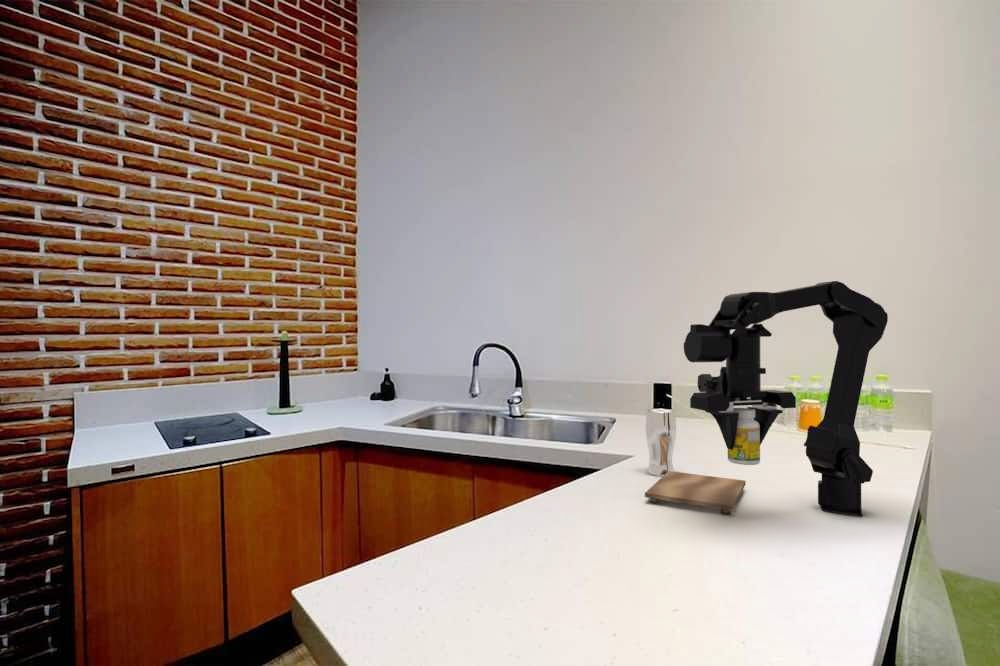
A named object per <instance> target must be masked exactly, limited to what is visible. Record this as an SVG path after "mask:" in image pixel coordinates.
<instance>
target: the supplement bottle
mask: <svg viewBox="0 0 1000 666" xmlns="http://www.w3.org/2000/svg"><path fill="white" fill-rule="evenodd" d="M733 412H738V413H739V417H738V424H737V431H736V438H735V443H734V447H733V449H728V448H727V460H728V461H729V462H730V463H732V464H736V465H743V466H756V465H759V464H760V462H761V445H760V425H759V423H758V422H757V421H755V420H754V418H755V410H754V409H749V408H747V407H733Z"/></svg>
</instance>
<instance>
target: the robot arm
mask: <svg viewBox="0 0 1000 666" xmlns="http://www.w3.org/2000/svg"><path fill="white" fill-rule="evenodd" d="M814 306H820V308H821V311H822V312H823V315H824V316H825V317H826V318H827V319H828V320H830V321H831V322H832V323H833V324H832V325H833V326H832V335H833V336H834V339H835V342H836V344H837V347H838V348H837V351H836V352H837V353H836V357H835V361H834V366H833V372H832V376H831V380H830V386H829V390H828V396H827V401H826V404H825V411H824V414H823V419H822V420H821V421H820V422H819V424H818V425H816V426H814V425H809V426H808V427H807V435H806V440H805V441H804V444H803V446H804V447H805V455H806V457H807V458H808V460H809V461H810V465H811V468H812V471H813V472H814V473H818V474H821V480H820V479H819V480H817V504H818V505H819V506H820V511H824V512H829V513H836V514H844V515H852V516H857V517H862V516H863V517H864V514H863V510H862V484H865V483H870V482H871V481H872V476H873V473H874V471H873V469H872V468H871V467H870V465H869V464H867V462H866V461H865V460H864V459H863V458H862V457H861V456H860V452H861V451H860V450H861V441H860V439H859V437H858V434H857V431H856V429H855V421H856V417H857V412H858V406H859V403H860V398H861V397H860V396H861V393H862V387H863V383H864V378H865V373H866V367H867V363H868V358H869V354H870V352H871V350H872V349H873V348H874V347H875V346H876V344H878V343H879V341H880V340H881V339H882V338H883V335H884V332H885V330H886V326H887V325H888V318H889V315H888V312H886V311H885V309H884V307H883V306H882V305H881V304H880V303H877V302H875V301H874V300H873V299H872V298H870V297H868V296H866V295H864V294H861V292H858V291H856V290H853V289H851V288H850V287H848V285H846V284H845V283H844V282H842V281H838V280H833V281H824V282H819V283H815V284H813V285H808V286H804V287H798V288H793V289H787V290H781V291H776V292H772V291H771V292H769V291H749V292H747V291H746V292H741V293H731V294H728V295H726V296H724V297H723V299H722V301H721V303H720V308H719V310H718V311H717V313H716V314H715V315H714V317H713V319H712V320H711V322H710V323H709V325H708V324H707V325H706V324H703V323H702V324H701V323H699V324H698V323H697V324H690V326H689V327H690V329H689V330H690V331H688V332H687V334H686V336H685V340H684V342H683V353H684V355H685V358H686V359H687V361H688V362H690V363H722V362H725V366H721V368H720V370H719V375H718V376H712V375H711V374H710V373H701V374H699V375H697V388H698V391H699V392H693V394H692V395H691V397H690V400H689V401H690V402H689V405H690V407H689V408H690V409H695V410H700V411H703V412H704V411H705V413H709V414H710V415H711V416H712V417H713V418H714V419H715V421H716V423H717V425H718V427H719V430H720V432H721V434H722V438H723V440H724V441H723V442H724V444H725V446H726V448H727V450H728V449H733V447H734V443H735V438H736V431H737V424H738V417H739V413H738V412H733V408H734V407H738V406H747V407H746V408H749V409H754V410H755V418H754V420H755V421H757V422H758V423H759V425H760V446H761V445H762V443H763V441H764V440H765V437H766V435H767V434H768V431H770V428H771V427H772V425H773V424H774V422H775V420H776V419H777V418H778V416H779V414H783V410H782V409H796V408H797V404H796V403H797V402H796V401H797V398H796V396H795V395H794V393H793V392H792V391H786V390H785V391H784V390H777V389H765V390H761V389H762V388H761V380H762V379H761V375H766V373H767V370H766V367H761V337H763V338H767V337H768V338H770V337H771V336H772V335H773V334H772V332H771V331H769V330H768V329H767V328H766V327H765V326H764V325H763V324H762V322H765V321H767V320H769V319H771V318H774V316H776V315H777V314H779V313H783V312H788V311H792V310H798V309H804V308H809V307H814ZM750 325H751V327H749V326H750ZM733 330H734V331H733ZM731 331H733V332H732V333H731ZM778 406H779V407H781V408H782V409H779V408H777V407H778Z"/></svg>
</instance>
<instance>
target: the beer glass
mask: <svg viewBox="0 0 1000 666" xmlns="http://www.w3.org/2000/svg"><path fill="white" fill-rule="evenodd" d="M645 436H646V442H647V449H648V456H649V458H648V459H649V460H648V461H649V462H648V467H647V473H648V474H649V475H651V476H656V477H663V476H664V475H665V474H666V473H667V472H668V471H673V472H675V470H674V469H675V468H674V465H673V464H674V463H673V456H674V455H673V454H674V449H675V443H676V437H677V419H676V410H674V409H668V408H648V409H646V416H645Z"/></svg>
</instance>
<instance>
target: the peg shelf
mask: <svg viewBox="0 0 1000 666" xmlns="http://www.w3.org/2000/svg"><path fill="white" fill-rule="evenodd" d="M746 482H747V481H746V480H744V479H735V478H727V477H719V476H712V475H711V476H710V475H704V474H697V473H696V474H695V473H687V472H679V471H674V472H673V471H668V472H667V473H666V474H665V475H664V476H661V477H660V478H659V479H658V480H657V481H656V482H655V483H653V485H652V486H651V487H649V488H648V489H647V490H646V491H645V492H644V497H645V498H647V499H648V498H649V504H654V505H655V504H656V505H659V504H660V500H662V501H668V502H675V503H676V502H677V503H682V504H687V505H696V506H703V507H707V508H708V507H709V508H715V509H719V510H720V511H719V512H720V514H721V515H724V516H730V515H731V513H732V511H734V509H735V507H736V505H737V503H738V501H739V499H740V497H741V495H742V493H743V491H744V489H745V486H746Z"/></svg>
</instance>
